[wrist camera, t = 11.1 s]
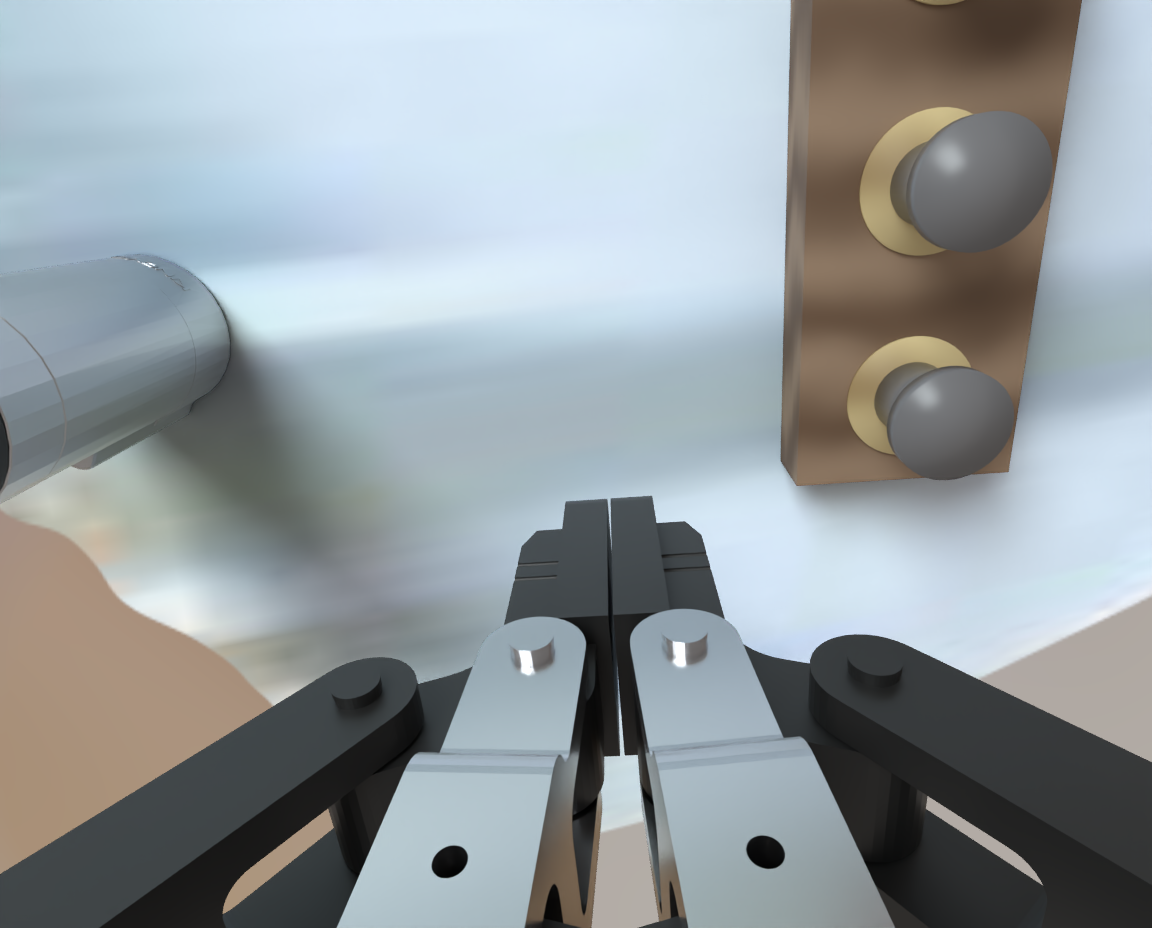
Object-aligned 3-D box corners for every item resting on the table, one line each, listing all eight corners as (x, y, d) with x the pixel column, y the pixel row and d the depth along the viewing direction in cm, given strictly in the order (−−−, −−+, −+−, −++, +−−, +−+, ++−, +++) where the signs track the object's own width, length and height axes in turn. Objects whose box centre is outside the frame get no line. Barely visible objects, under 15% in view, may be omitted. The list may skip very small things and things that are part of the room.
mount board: (974, 447, 44) (1010, 473, 40) (780, 460, 44) (797, 487, 41) (1061, -204, 32) (1125, -259, 28) (794, -170, 32) (821, -218, 29)
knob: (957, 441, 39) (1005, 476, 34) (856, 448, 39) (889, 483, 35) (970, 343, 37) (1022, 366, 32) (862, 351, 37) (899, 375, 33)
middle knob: (983, 238, 35) (1041, 246, 30) (869, 248, 35) (909, 258, 31) (998, 115, 33) (1063, 103, 28) (877, 127, 33) (922, 117, 29)
